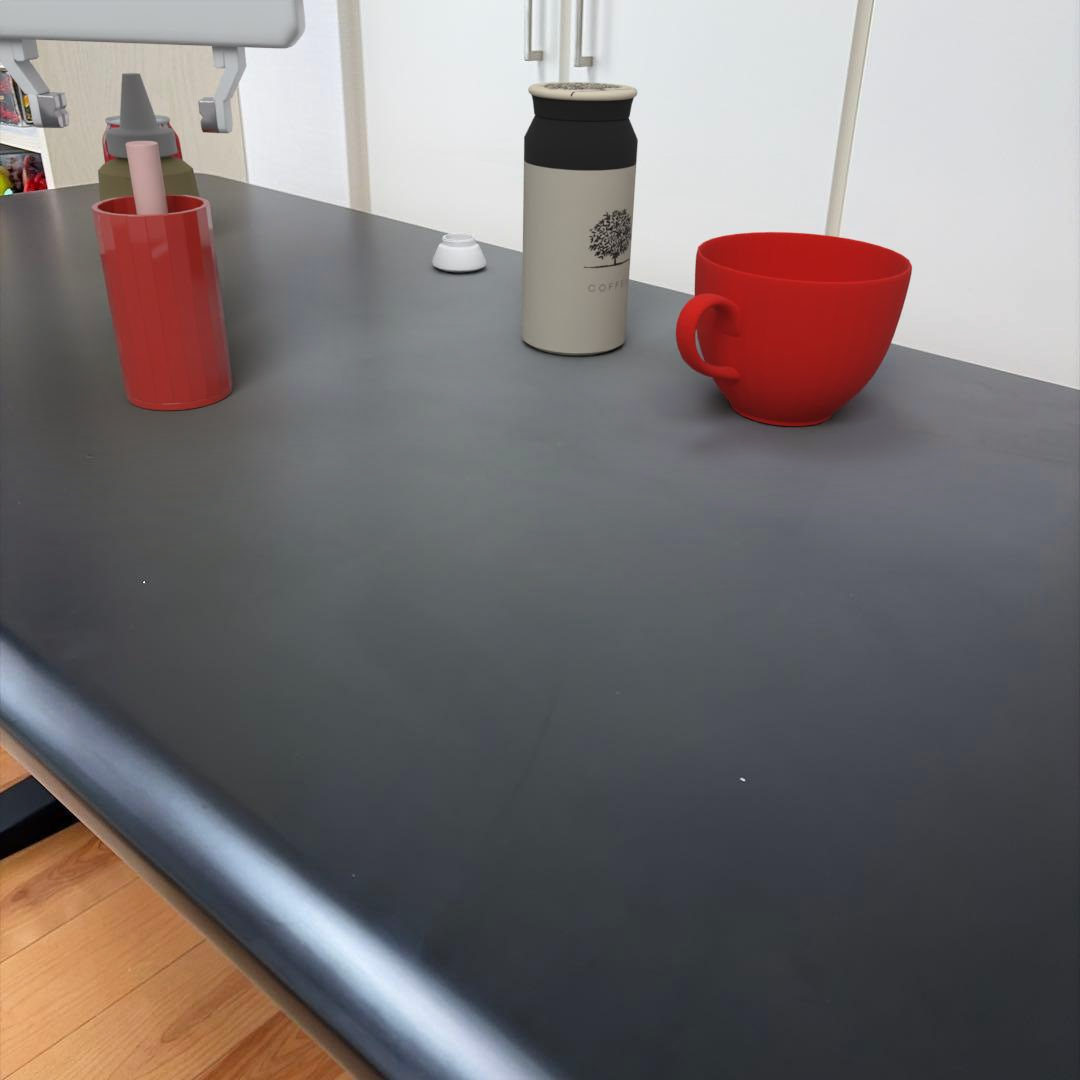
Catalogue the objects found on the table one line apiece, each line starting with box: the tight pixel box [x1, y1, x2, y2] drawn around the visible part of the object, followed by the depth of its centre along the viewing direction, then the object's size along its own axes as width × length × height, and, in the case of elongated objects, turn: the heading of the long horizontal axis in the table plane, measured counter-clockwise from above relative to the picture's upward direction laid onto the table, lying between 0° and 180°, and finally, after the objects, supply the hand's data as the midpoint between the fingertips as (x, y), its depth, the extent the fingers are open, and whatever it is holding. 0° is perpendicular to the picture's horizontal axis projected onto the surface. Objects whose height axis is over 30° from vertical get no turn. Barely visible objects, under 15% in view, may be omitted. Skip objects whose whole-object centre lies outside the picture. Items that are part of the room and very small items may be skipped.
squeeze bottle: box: [97, 72, 200, 202], centre depth 76 cm, size 8×8×18 cm
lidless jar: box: [431, 232, 487, 274], centre depth 97 cm, size 5×3×5 cm
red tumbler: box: [91, 194, 234, 412], centre depth 65 cm, size 7×7×12 cm
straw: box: [126, 141, 168, 215], centre depth 64 cm, size 2×2×15 cm
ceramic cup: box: [675, 231, 913, 427], centre depth 64 cm, size 13×17×10 cm
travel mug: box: [521, 81, 639, 357], centre depth 75 cm, size 8×8×18 cm
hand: (135, 129), depth 60 cm, fingers open, 8 cm apart
